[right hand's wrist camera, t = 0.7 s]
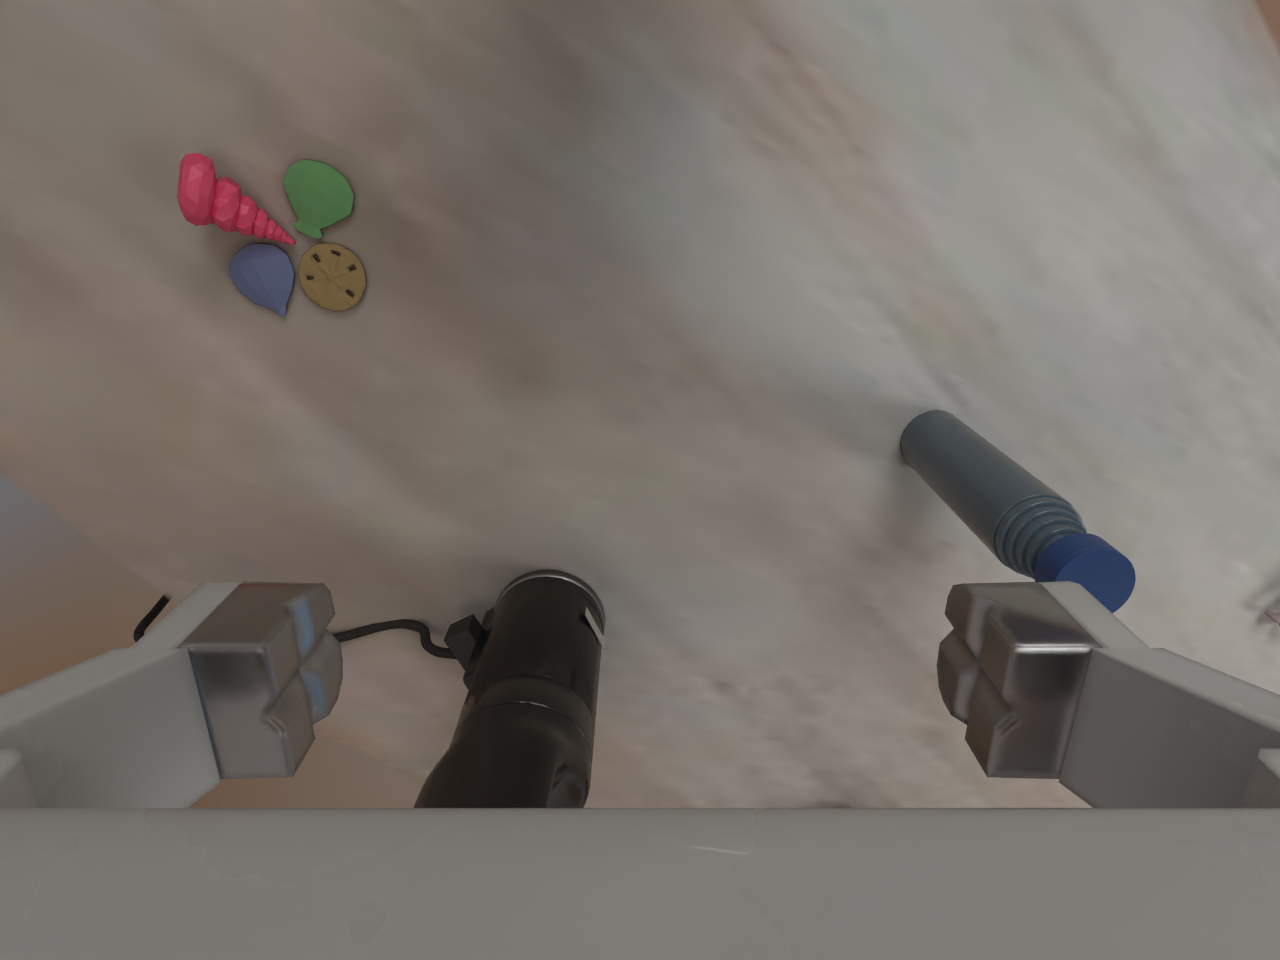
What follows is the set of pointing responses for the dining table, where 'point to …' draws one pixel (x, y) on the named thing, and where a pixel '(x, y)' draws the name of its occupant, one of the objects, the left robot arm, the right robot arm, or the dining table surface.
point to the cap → (1088, 568)
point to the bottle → (988, 490)
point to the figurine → (1273, 616)
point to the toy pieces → (278, 232)
